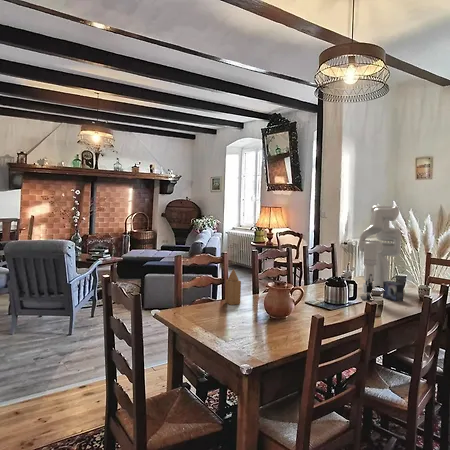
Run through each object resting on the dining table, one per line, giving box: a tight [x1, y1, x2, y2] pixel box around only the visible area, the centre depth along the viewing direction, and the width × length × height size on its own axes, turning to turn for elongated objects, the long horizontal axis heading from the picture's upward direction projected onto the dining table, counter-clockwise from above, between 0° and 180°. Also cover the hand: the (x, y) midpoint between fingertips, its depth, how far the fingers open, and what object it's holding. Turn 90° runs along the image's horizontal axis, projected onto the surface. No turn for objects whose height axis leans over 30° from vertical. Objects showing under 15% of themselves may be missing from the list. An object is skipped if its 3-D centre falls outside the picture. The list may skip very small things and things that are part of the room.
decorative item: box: [224, 268, 242, 306], centre depth 216 cm, size 7×7×20 cm
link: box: [362, 282, 376, 294], centre depth 234 cm, size 6×6×5 cm
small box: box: [382, 280, 405, 303], centre depth 236 cm, size 11×6×10 cm, turn 25°
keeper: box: [360, 293, 371, 301], centre depth 234 cm, size 8×8×6 cm
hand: (368, 291), depth 234 cm, fingers closed on link, 6 cm apart
